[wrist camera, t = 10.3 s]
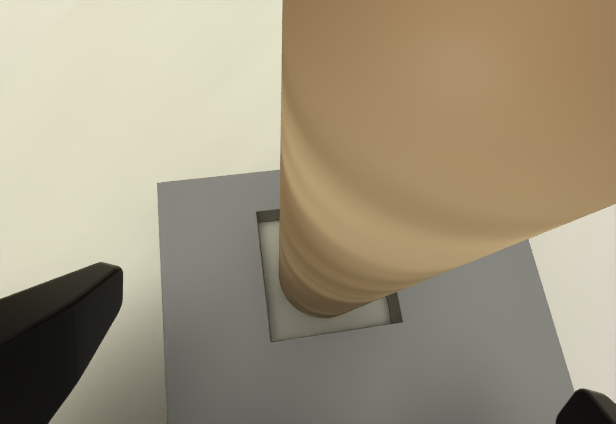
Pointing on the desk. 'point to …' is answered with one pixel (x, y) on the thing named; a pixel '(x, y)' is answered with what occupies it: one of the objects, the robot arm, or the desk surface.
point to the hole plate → (346, 344)
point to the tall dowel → (435, 136)
